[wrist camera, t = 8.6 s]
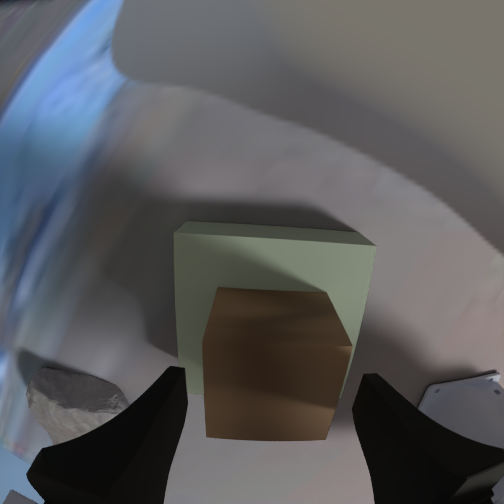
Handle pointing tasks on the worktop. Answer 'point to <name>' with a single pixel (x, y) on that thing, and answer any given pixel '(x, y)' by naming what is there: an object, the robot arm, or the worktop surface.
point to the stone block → (72, 403)
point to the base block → (264, 275)
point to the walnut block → (272, 365)
